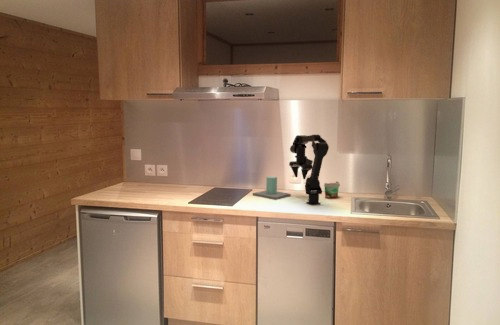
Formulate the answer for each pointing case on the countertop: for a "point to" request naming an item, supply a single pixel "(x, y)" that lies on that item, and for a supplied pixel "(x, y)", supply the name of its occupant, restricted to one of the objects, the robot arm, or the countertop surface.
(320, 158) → the robot arm
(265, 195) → the mat
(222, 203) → the countertop surface
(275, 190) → the block
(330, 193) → the food container
